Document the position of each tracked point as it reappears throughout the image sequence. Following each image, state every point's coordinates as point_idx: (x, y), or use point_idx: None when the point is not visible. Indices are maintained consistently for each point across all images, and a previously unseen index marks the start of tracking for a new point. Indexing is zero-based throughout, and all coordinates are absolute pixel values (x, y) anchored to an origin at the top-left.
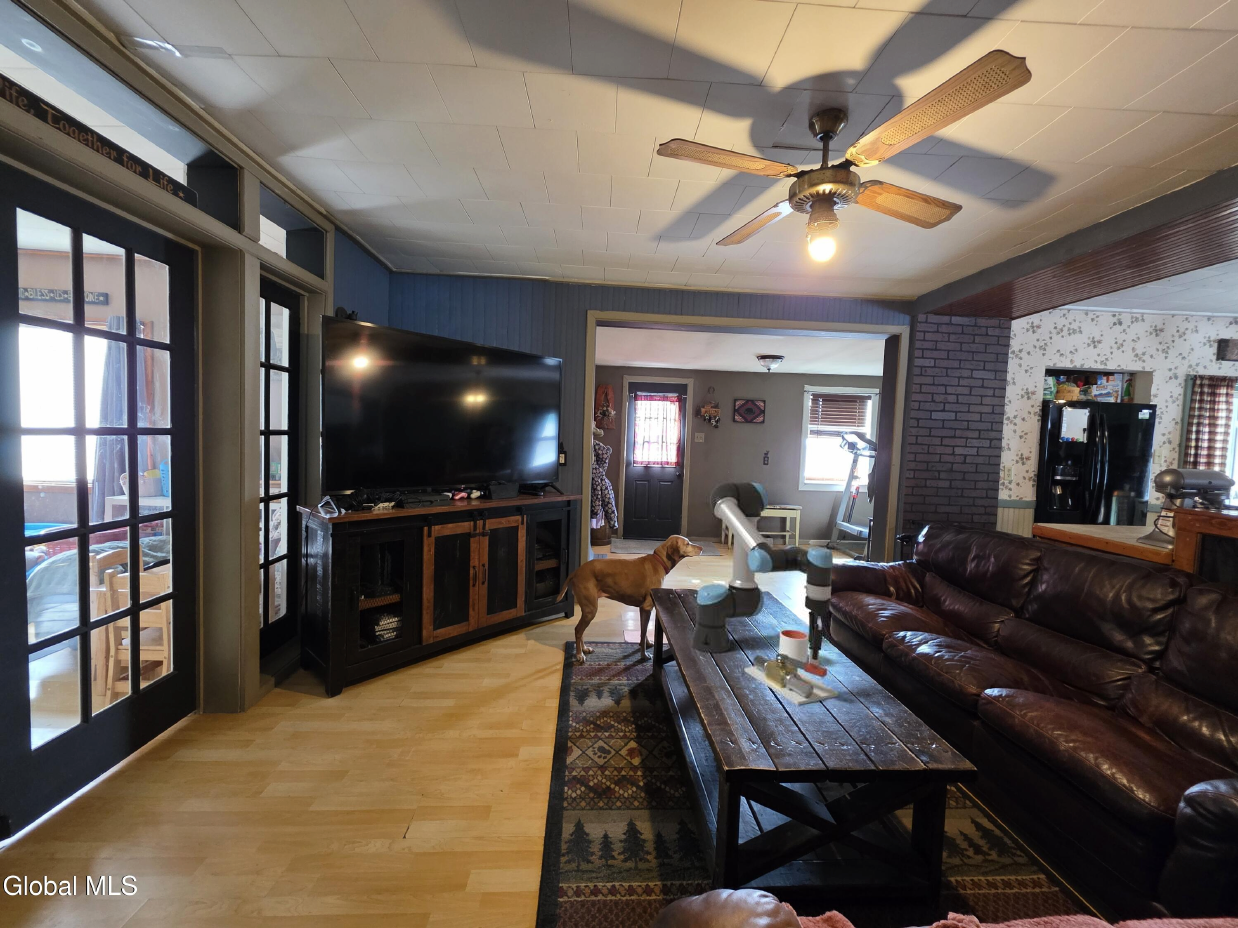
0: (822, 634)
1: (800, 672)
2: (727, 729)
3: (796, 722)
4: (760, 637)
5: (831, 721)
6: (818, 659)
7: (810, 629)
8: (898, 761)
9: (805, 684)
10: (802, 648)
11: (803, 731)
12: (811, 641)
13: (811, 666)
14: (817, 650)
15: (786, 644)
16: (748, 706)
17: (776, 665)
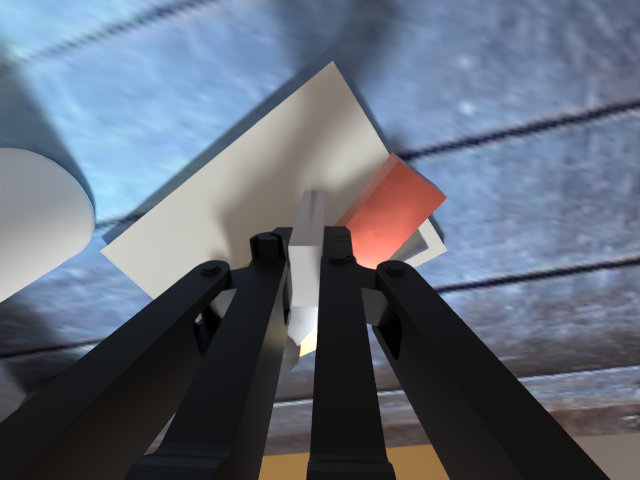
0: (579, 455)
1: (174, 199)
2: (584, 415)
3: (566, 267)
4: None
5: (571, 146)
6: (324, 212)
7: (162, 418)
8: None
9: (419, 245)
10: (7, 201)
11: (628, 256)
12: (284, 333)
13: (378, 248)
14: (358, 267)
15: (28, 278)
16: None
17: (302, 345)
